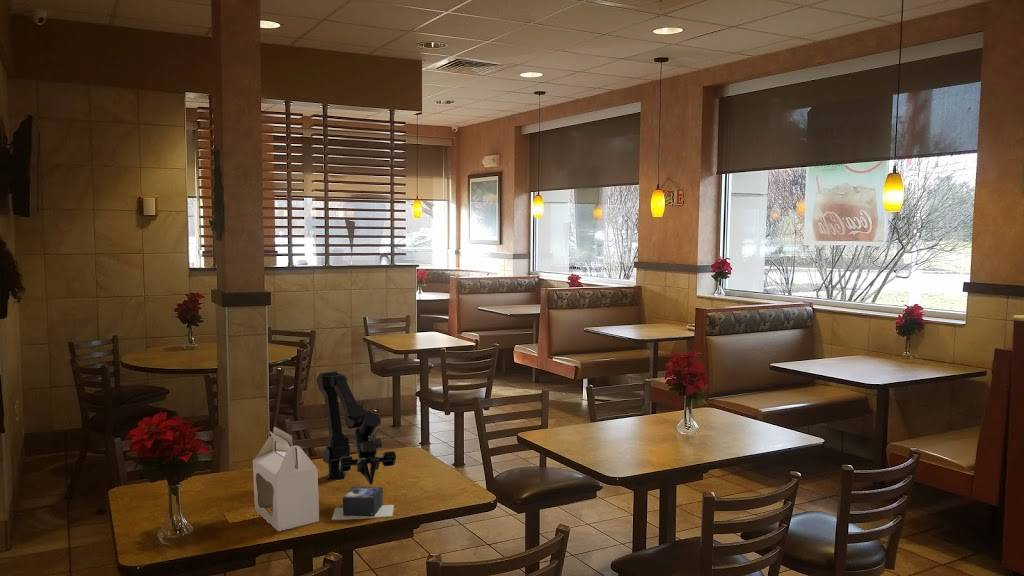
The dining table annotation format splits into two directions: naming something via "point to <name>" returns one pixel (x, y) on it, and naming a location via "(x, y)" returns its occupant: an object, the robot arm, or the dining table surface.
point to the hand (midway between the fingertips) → (371, 483)
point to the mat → (382, 512)
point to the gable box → (285, 483)
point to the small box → (362, 501)
